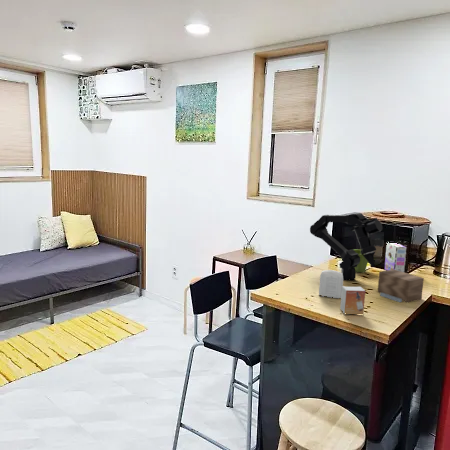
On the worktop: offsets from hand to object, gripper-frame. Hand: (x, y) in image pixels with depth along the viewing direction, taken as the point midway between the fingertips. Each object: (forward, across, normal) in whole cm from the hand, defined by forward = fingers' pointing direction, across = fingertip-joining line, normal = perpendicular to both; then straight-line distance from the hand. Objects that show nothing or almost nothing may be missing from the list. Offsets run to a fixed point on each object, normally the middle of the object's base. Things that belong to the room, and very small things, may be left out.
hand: (373, 266), depth 193 cm
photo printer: (+7, -21, +24) cm, 32 cm away
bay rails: (+15, -8, -5) cm, 18 cm away
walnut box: (+16, -8, -6) cm, 19 cm away
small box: (+15, -37, +17) cm, 44 cm away
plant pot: (+1, +27, +6) cm, 28 cm away
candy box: (+7, +31, -11) cm, 33 cm away
